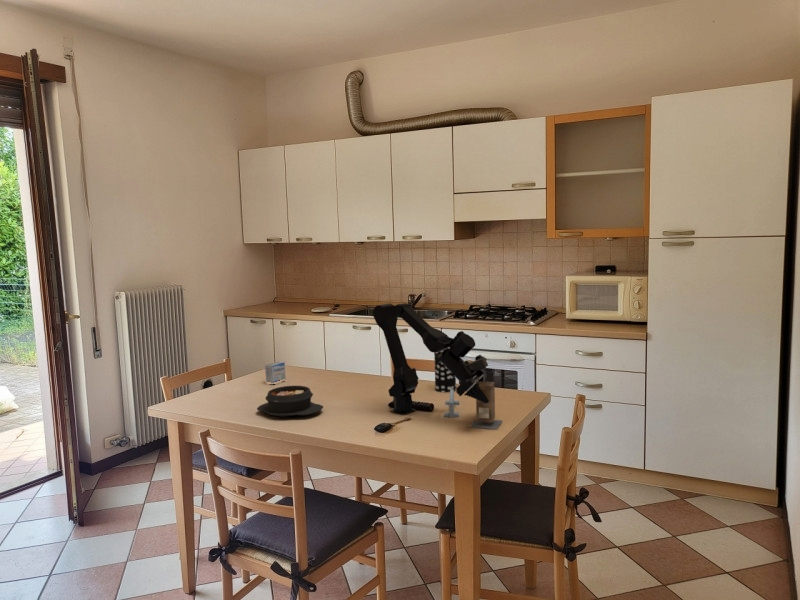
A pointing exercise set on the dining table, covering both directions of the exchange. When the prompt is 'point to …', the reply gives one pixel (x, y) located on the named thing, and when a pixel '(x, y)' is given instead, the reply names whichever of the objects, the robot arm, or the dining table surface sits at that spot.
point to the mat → (486, 424)
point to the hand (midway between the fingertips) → (489, 400)
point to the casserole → (290, 402)
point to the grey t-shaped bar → (451, 405)
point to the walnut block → (486, 410)
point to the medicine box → (275, 372)
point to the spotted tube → (443, 377)
